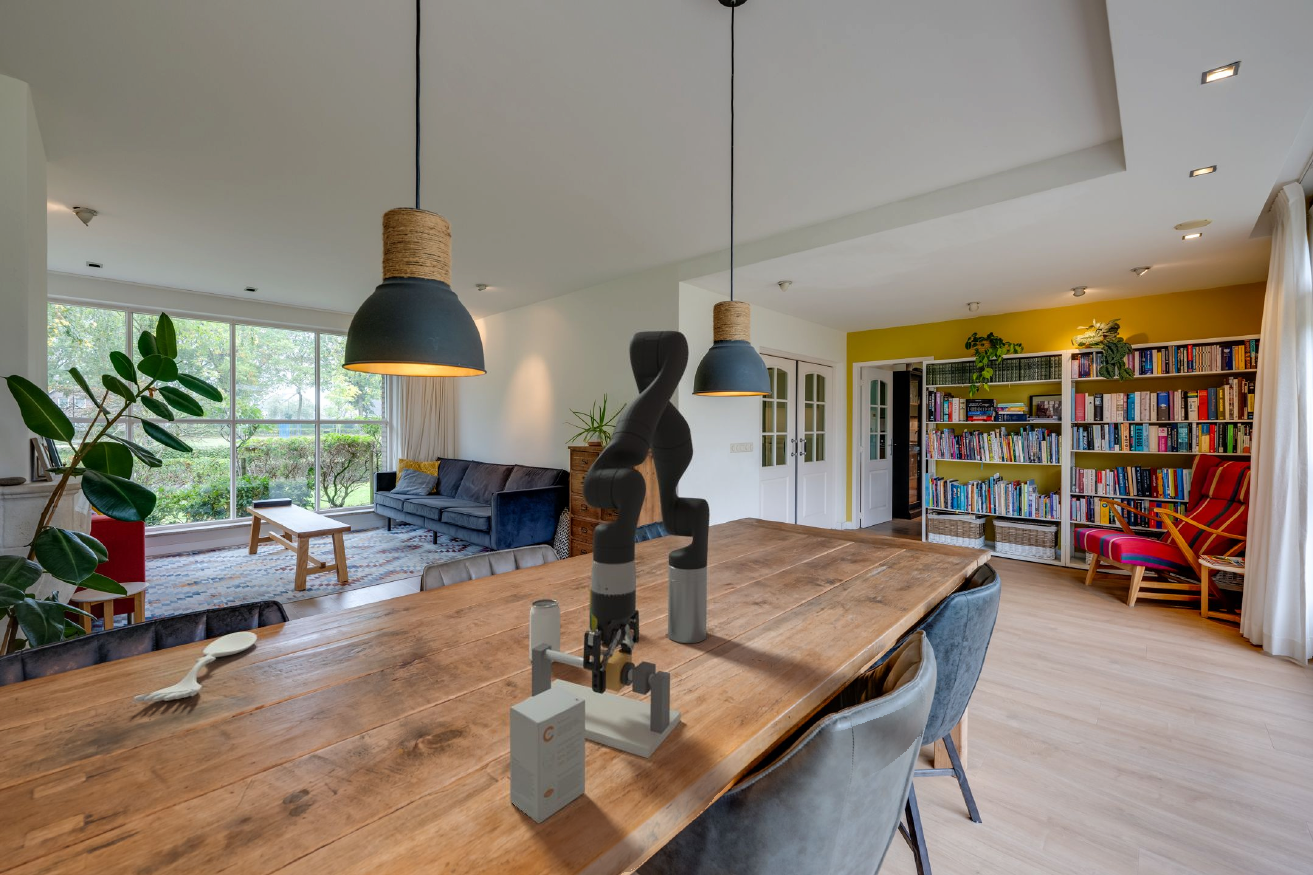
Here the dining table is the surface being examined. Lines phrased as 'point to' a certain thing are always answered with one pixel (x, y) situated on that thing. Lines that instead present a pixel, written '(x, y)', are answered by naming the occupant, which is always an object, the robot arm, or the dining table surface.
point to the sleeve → (615, 670)
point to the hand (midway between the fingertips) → (612, 681)
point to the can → (545, 624)
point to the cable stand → (615, 703)
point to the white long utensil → (215, 649)
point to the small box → (547, 752)
